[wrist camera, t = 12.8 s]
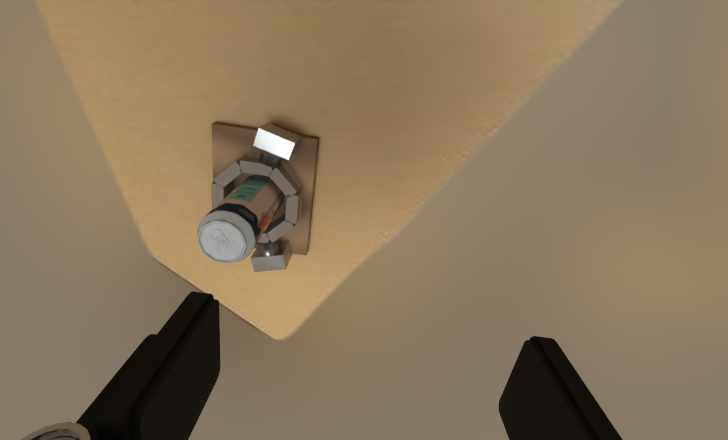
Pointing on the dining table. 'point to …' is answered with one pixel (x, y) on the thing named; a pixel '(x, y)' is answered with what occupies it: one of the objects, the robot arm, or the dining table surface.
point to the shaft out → (271, 256)
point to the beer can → (239, 220)
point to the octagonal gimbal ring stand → (293, 177)
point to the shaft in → (275, 144)
